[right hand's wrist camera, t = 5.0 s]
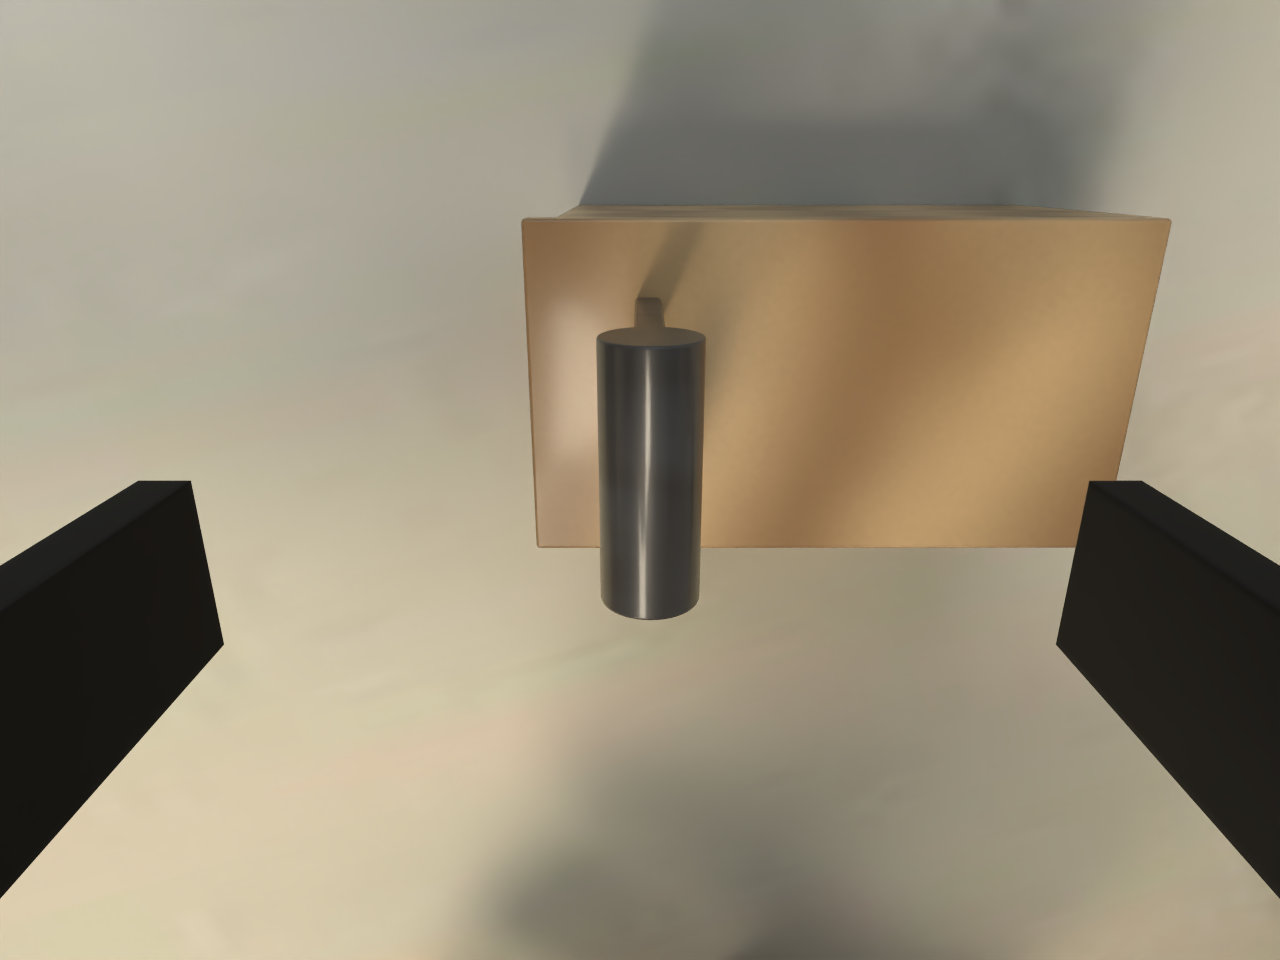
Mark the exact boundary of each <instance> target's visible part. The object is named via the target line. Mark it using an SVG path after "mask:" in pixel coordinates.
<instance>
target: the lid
mask: <svg viewBox="0 0 1280 960" xmlns="http://www.w3.org/2000/svg"><path fill="white" fill-rule="evenodd" d="M1171 223H1172V222H1171V220H1170V219H1168V218H1157V217H528V218H525V219H523V220H522V222H521V227H522V248H523V269H524V289H525V310H526V331H527V352H528V372H529V393H530V414H531V435H532V456H533V476H534V497H535V518H536V539H537V546H538V547H540V548H600V571H601V598H602V601H603V603H604V604H605V605H606V606H607V608H609V609H610V610H612V611H613V612H615V613H617V614H619V615H622V616H625V617H629V618H634V619H641V620H660V619H667V618H672V617H676V616H679V615H682V614H684V613H686V612H688V611H689V610H691V609H692V608H693V607H694V606H695V605H696V603H697V601H698V599H699V584H700V549H701V548H721V547H1076V544H1077V539H1078V534H1079V529H1080V524H1081V519H1082V514H1083V509H1084V504H1085V499H1086V494H1087V489H1088V484H1089V481H1116V479H1117V474H1118V470H1119V465H1120V460H1121V456H1122V451H1123V446H1124V442H1125V437H1126V432H1127V428H1128V423H1129V418H1130V414H1131V409H1132V404H1133V400H1134V395H1135V390H1136V386H1137V381H1138V376H1139V372H1140V367H1141V362H1142V358H1143V353H1144V348H1145V344H1146V339H1147V334H1148V330H1149V325H1150V320H1151V316H1152V311H1153V306H1154V302H1155V297H1156V293H1157V288H1158V283H1159V279H1160V274H1161V269H1162V265H1163V260H1164V255H1165V251H1166V246H1167V241H1168V237H1169V232H1170V227H1171Z"/></svg>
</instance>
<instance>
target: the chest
mask: <svg viewBox="0 0 1280 960" xmlns="http://www.w3.org/2000/svg"><path fill="white" fill-rule="evenodd" d="M558 217H1147V216H1136V215H1124V214H1113V213H1102V212H1090V211H1079V210H1068V209H1056V208H1045V207H1034V206H1022V205H579V206H577V207H575V208H573V209H571V210H569V211H567V212H566V213H564V214H562V215H560V216H558Z"/></svg>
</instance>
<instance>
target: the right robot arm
mask: <svg viewBox="0 0 1280 960" xmlns="http://www.w3.org/2000/svg"><path fill="white" fill-rule="evenodd" d="M223 645H224V642H223V637H222V632H221V628H220V623H219V618H218V613H217V608H216V603H215V598H214V593H213V588H212V583H211V578H210V573H209V568H208V563H207V558H206V554H205V549H204V544H203V539H202V534H201V529H200V524H199V519H198V514H197V509H196V504H195V499H194V494H193V489H192V484H191V481H137V482H136V483H134V484H132V485H131V486H129V487H127V488H126V489H124V490H123V491H121V492H119V493H118V494H116V495H114V496H113V497H111V498H110V499H108V500H106V501H105V502H103V503H101V504H100V505H98V506H97V507H95V508H93V509H92V510H90V511H88V512H87V513H85V514H84V515H82V516H80V517H79V518H77V519H75V520H74V521H72V522H71V523H69V524H67V525H66V526H64V527H62V528H61V529H59V530H58V531H56V532H54V533H53V534H51V535H49V536H48V537H46V538H45V539H43V540H41V541H40V542H38V543H36V544H35V545H33V546H32V547H30V548H28V549H27V550H25V551H23V552H22V553H20V554H19V555H17V556H15V557H14V558H12V559H10V560H9V561H7V562H6V563H4V564H2V565H1V566H0V898H1V897H2V896H3V895H4V894H5V893H6V891H7V890H8V889H9V888H10V887H11V886H12V885H13V884H14V882H15V881H16V880H17V879H18V878H19V877H20V876H21V874H22V873H23V872H24V871H25V870H26V869H27V868H28V866H29V865H30V864H31V863H32V862H33V861H34V860H35V859H36V857H37V856H38V855H39V854H40V853H41V852H42V851H43V849H44V848H45V847H46V846H47V845H48V844H49V843H50V841H51V840H52V839H53V838H54V837H55V836H56V835H57V834H58V832H59V831H60V830H61V829H62V828H63V827H64V826H65V824H66V823H67V822H68V821H69V820H70V819H71V818H72V817H73V815H74V814H75V813H76V812H77V811H78V810H79V809H80V807H81V806H82V805H83V804H84V803H85V802H86V801H87V799H88V798H89V797H90V796H91V795H92V794H93V793H94V792H95V790H96V789H97V788H98V787H99V786H100V785H101V784H102V782H103V781H104V780H105V779H106V778H107V777H108V776H109V774H110V773H111V772H112V771H113V770H114V769H115V768H116V767H117V765H118V764H119V763H120V762H121V761H122V760H123V759H124V757H125V756H126V755H127V754H128V753H129V752H130V751H131V749H132V748H133V747H134V746H135V745H136V744H137V743H138V742H139V740H140V739H141V738H142V737H143V736H144V735H145V734H146V732H147V731H148V730H149V729H150V728H151V727H152V726H153V725H154V723H155V722H156V721H157V720H158V719H159V718H160V717H161V715H162V714H163V713H164V712H165V711H166V710H167V709H168V707H169V706H170V705H171V704H172V703H173V702H174V701H175V700H176V698H177V697H178V696H179V695H180V694H181V693H182V692H183V690H184V689H185V688H186V687H187V686H188V685H189V684H190V682H191V681H192V680H193V679H194V678H195V677H196V676H197V675H198V673H199V672H200V671H201V670H202V669H203V668H204V667H205V665H206V664H207V663H208V662H209V661H210V660H211V659H212V657H213V656H214V655H215V654H216V653H217V652H218V651H219V650H220V648H221V647H222V646H223ZM1056 645H1057V646H1058V647H1059V648H1060V650H1061V651H1062V652H1063V653H1064V654H1065V655H1066V656H1067V657H1068V659H1069V660H1070V661H1071V662H1072V663H1073V664H1074V665H1075V667H1076V668H1077V669H1078V670H1079V671H1080V672H1081V673H1082V675H1083V676H1084V677H1085V678H1086V679H1087V680H1088V681H1089V682H1090V684H1091V685H1092V686H1093V687H1094V688H1095V689H1096V690H1097V692H1098V693H1099V694H1100V695H1101V696H1102V697H1103V698H1104V700H1105V701H1106V702H1107V703H1108V704H1109V705H1110V706H1111V707H1112V709H1113V710H1114V711H1115V712H1116V713H1117V714H1118V715H1119V717H1120V718H1121V719H1122V720H1123V721H1124V722H1125V723H1126V725H1127V726H1128V727H1129V728H1130V729H1131V730H1132V731H1133V732H1134V734H1135V735H1136V736H1137V737H1138V738H1139V739H1140V740H1141V742H1142V743H1143V744H1144V745H1145V746H1146V747H1147V748H1148V749H1149V751H1150V752H1151V753H1152V754H1153V755H1154V756H1155V757H1156V759H1157V760H1158V761H1159V762H1160V763H1161V764H1162V765H1163V767H1164V768H1165V769H1166V770H1167V771H1168V772H1169V773H1170V774H1171V776H1172V777H1173V778H1174V779H1175V780H1176V781H1177V782H1178V784H1179V785H1180V786H1181V787H1182V788H1183V789H1184V790H1185V792H1186V793H1187V794H1188V795H1189V796H1190V797H1191V798H1192V799H1193V801H1194V802H1195V803H1196V804H1197V805H1198V806H1199V807H1200V809H1201V810H1202V811H1203V812H1204V813H1205V814H1206V815H1207V817H1208V818H1209V819H1210V820H1211V821H1212V822H1213V823H1214V824H1215V826H1216V827H1217V828H1218V829H1219V830H1220V831H1221V832H1222V834H1223V835H1224V836H1225V837H1226V838H1227V839H1228V840H1229V842H1230V843H1231V844H1232V845H1233V846H1234V847H1235V848H1236V849H1237V851H1238V852H1239V853H1240V854H1241V855H1242V856H1243V857H1244V859H1245V860H1246V861H1247V862H1248V863H1249V864H1250V865H1251V866H1252V868H1253V869H1254V870H1255V871H1256V872H1257V873H1258V874H1259V876H1260V877H1261V878H1262V879H1263V880H1264V881H1265V882H1266V884H1267V885H1268V886H1269V887H1270V888H1271V889H1272V890H1273V891H1274V893H1275V894H1276V895H1277V896H1278V897H1279V898H1280V566H1279V565H1278V564H1276V563H1274V562H1273V561H1271V560H1270V559H1268V558H1266V557H1265V556H1263V555H1261V554H1260V553H1258V552H1257V551H1255V550H1253V549H1252V548H1250V547H1248V546H1247V545H1245V544H1244V543H1242V542H1240V541H1239V540H1237V539H1235V538H1234V537H1232V536H1231V535H1229V534H1227V533H1226V532H1224V531H1222V530H1221V529H1219V528H1218V527H1216V526H1214V525H1213V524H1211V523H1209V522H1208V521H1206V520H1205V519H1203V518H1201V517H1200V516H1198V515H1196V514H1195V513H1193V512H1192V511H1190V510H1188V509H1187V508H1185V507H1183V506H1182V505H1180V504H1179V503H1177V502H1175V501H1174V500H1172V499H1170V498H1169V497H1167V496H1166V495H1164V494H1162V493H1161V492H1159V491H1157V490H1156V489H1154V488H1153V487H1151V486H1149V485H1148V484H1146V483H1144V482H1143V481H1089V484H1088V489H1087V494H1086V499H1085V504H1084V509H1083V514H1082V519H1081V524H1080V529H1079V534H1078V539H1077V544H1076V549H1075V554H1074V558H1073V563H1072V568H1071V573H1070V578H1069V583H1068V588H1067V593H1066V598H1065V603H1064V608H1063V613H1062V618H1061V623H1060V628H1059V632H1058V637H1057V642H1056Z"/></svg>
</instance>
